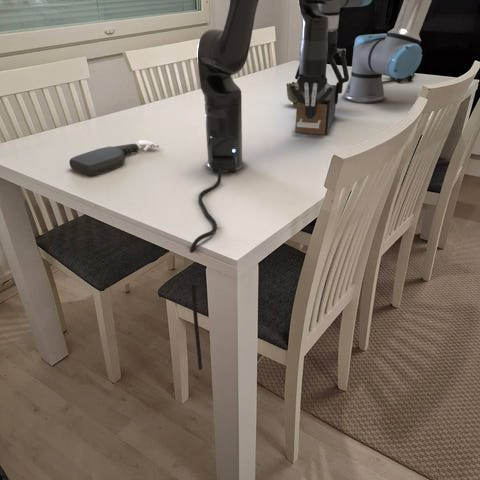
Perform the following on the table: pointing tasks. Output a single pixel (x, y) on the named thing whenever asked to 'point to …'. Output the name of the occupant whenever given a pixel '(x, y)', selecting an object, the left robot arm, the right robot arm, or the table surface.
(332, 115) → the cabinet
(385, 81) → the right robot arm
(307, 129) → the drawer
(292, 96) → the cup
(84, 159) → the spray bottle
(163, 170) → the table surface
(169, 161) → the table surface
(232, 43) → the left robot arm
